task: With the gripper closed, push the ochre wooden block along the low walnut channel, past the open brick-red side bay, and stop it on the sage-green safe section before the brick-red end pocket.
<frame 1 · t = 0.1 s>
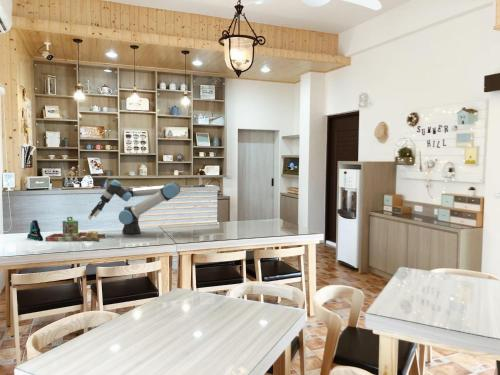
hand: (91, 217, 342), 15 cm above the table, tool tilted 35°, fingers open, 13 cm apart
green lantern: (70, 234, 348), on the table
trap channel: (76, 239, 329), on the table
ochre block: (91, 239, 329), on the table
decorative sign: (35, 239, 328), on the table
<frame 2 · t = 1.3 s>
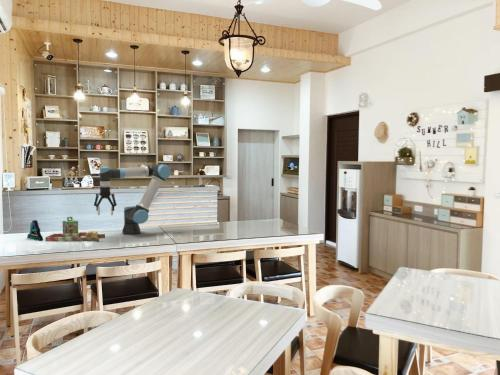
hand: (105, 214, 328), 20 cm above the table, tool pointing down, fingers open, 10 cm apart
nothing on the table moved.
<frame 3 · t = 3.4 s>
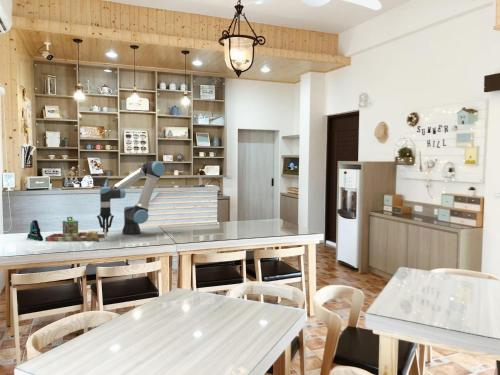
hand: (105, 236, 329), 3 cm above the table, tool pointing down, fingers closed
nothing on the table moved.
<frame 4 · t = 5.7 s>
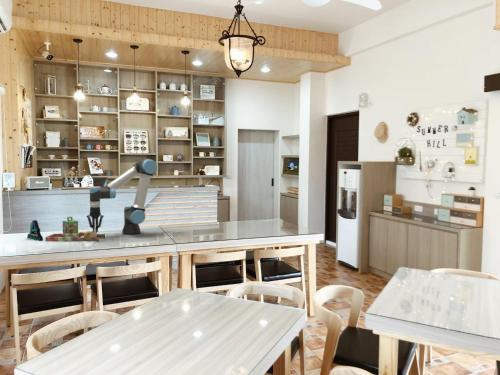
hand: (95, 236, 329), 3 cm above the table, tool pointing down, fingers closed
ochre block: (90, 239, 329), on the table, touching gripper
everything else where it was.
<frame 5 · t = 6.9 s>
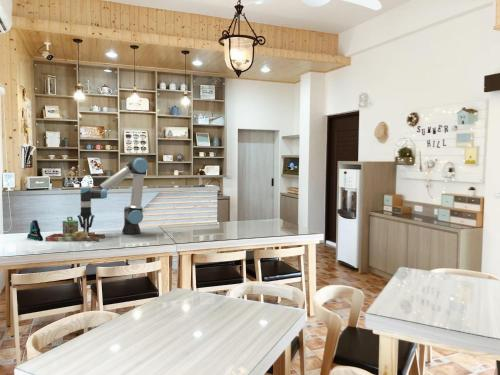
hand: (86, 236, 329), 3 cm above the table, tool pointing down, fingers closed
ochre block: (80, 239, 329), on the table
everything else where it was.
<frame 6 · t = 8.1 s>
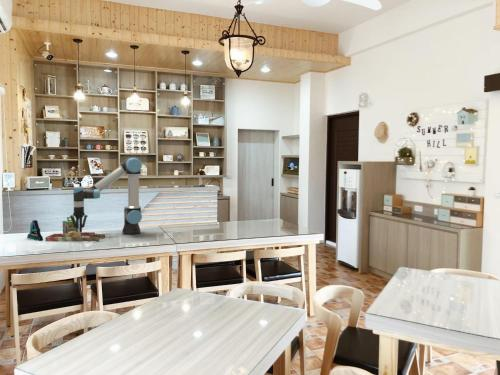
hand: (79, 236, 329), 3 cm above the table, tool pointing down, fingers closed
ochre block: (74, 239, 329), on the table, touching gripper
everything else where it was.
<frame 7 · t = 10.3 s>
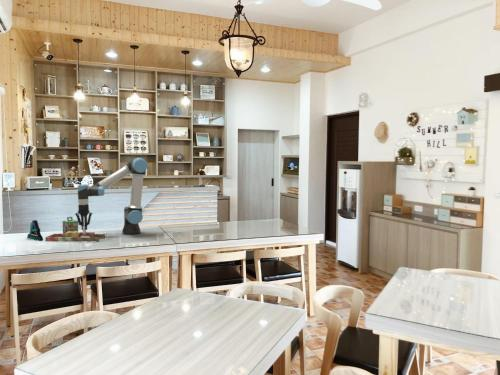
hand: (84, 233, 329), 4 cm above the table, tool pointing down, fingers closed
ochre block: (72, 239, 329), on the table
everything else where it was.
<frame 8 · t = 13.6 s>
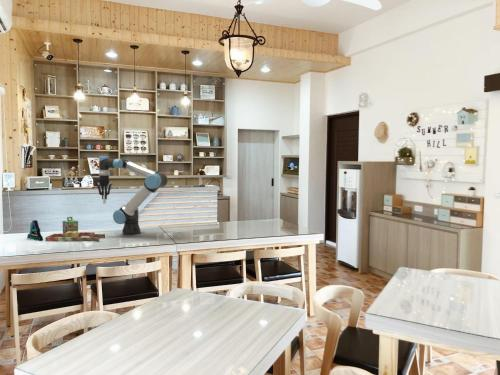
hand: (104, 203, 347), 26 cm above the table, tool pointing down, fingers closed
nothing on the table moved.
at the end: ochre block inside the target area (2.9 cm from its centre), on the table; ochre block tilted 0°; ochre block moved 15.4 cm from its start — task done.
